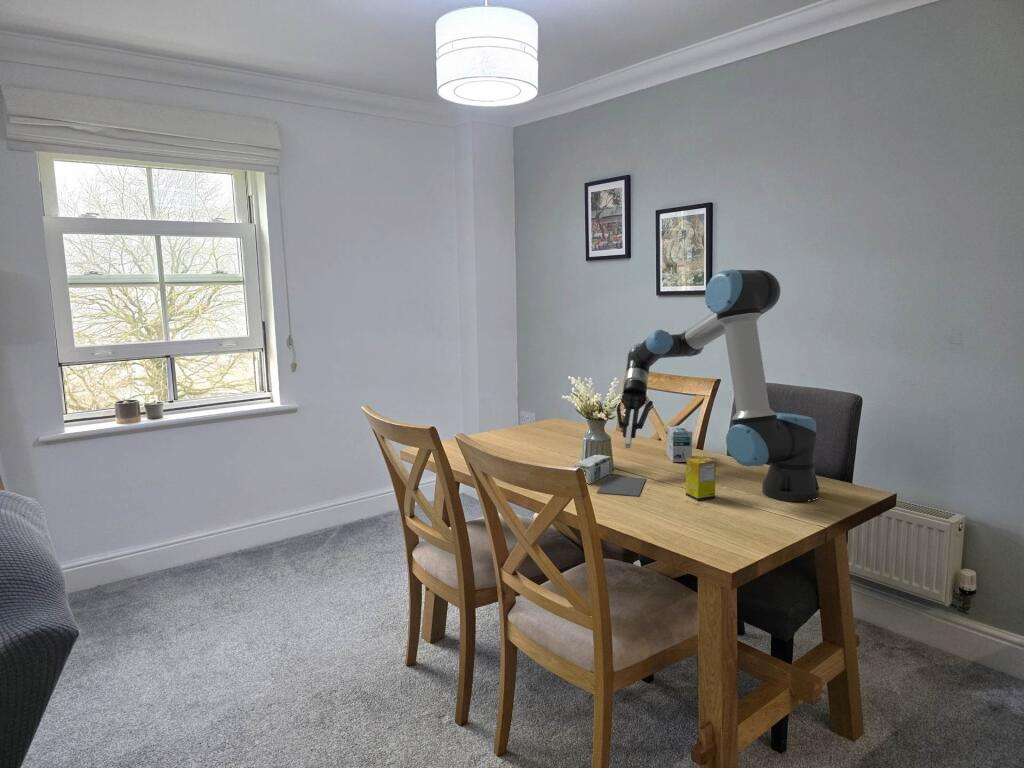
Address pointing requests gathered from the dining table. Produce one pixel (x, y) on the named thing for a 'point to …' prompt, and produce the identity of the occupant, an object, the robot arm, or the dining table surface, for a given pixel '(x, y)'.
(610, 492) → the mat
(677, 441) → the light bulb box
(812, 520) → the dining table surface
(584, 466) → the syrup box
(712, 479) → the supplement box
